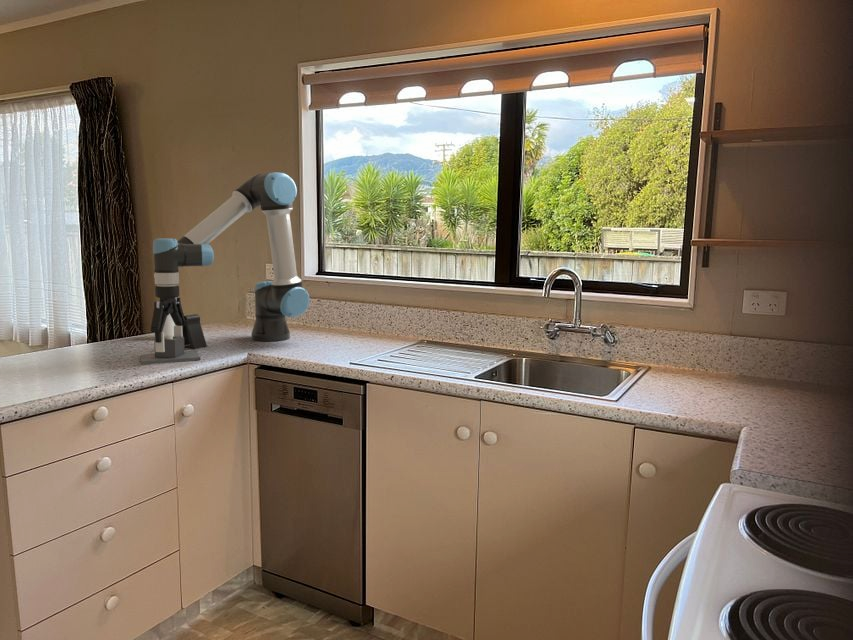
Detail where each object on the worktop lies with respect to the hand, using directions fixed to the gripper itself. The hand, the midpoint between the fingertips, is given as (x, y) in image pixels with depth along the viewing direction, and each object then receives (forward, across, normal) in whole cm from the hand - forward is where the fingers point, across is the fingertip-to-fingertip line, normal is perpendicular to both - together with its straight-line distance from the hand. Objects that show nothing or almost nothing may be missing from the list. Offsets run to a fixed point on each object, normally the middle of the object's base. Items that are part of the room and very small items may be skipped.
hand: (169, 348), depth 212 cm
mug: (+4, -39, -19) cm, 43 cm away
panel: (+4, 0, 0) cm, 4 cm away
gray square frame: (+3, 0, 0) cm, 3 cm away
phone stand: (+4, -21, -2) cm, 21 cm away
